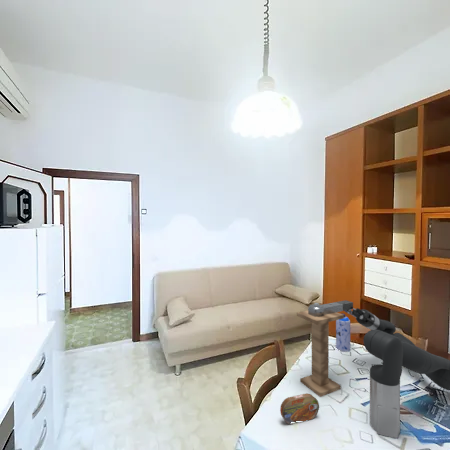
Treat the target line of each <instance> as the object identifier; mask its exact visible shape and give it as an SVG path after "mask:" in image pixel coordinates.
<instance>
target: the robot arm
mask: <svg viewBox="0 0 450 450" xmlns="http://www.w3.org/2000/svg"><path fill="white" fill-rule="evenodd" d="M344 312H345V313H347V314H348V315H351V316H353V317H354V318H355V320H356V322H357V323H358V324H359V325H361V326H362V327H365V328H367V329H368V330H369V331H367V332H366V333H365V335H364V336H363V346H364V347H365V350H366V352H368V353H369V354H370V355H372V356H374V357H375V358H378V359H379V360H382V364H381V363H379V364H378V363H377V364H372V365H371V366H370V368H369V425H370V426H371V428H372V429H373V430H374V431H375V432H376V435H377V434H378V435H381V436H385V437H390V438H394V439H398V438H399V435H400V434H401V393H400V392H401V377H402V373H403V368H404V369H407V370H408V371H410V372H414V373H416V374H420V375H425V376H426V377H427V378H428V379H429V380H430V381H431V382H432V383H434V384H436V385H437V386H438V387H440V388H441V389H444V390H445V391H450V360H449V359H448V358H445V357H443V356H440V355H436V354H433V353H431V352H429V351H427V350H425V349H423V348H421V347H419V346H416V344H415V343H414V342H413V341H412V340H410V339H409V338H408V337H406V336H405V335H403V334H402V333H400V332H396V330H397V329H396V328H397V327H396V326H395V324H394V323H393V322H390V321H389V320H387V319H386V320H385V319H381V318H379V317H377V316H376V315H375V314H373V313H372V312H371V311H369V310H367V309H364V308H363V309H360V308H358V307H356V308H354V307H353V309H350V310H345V311H344Z"/></svg>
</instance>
